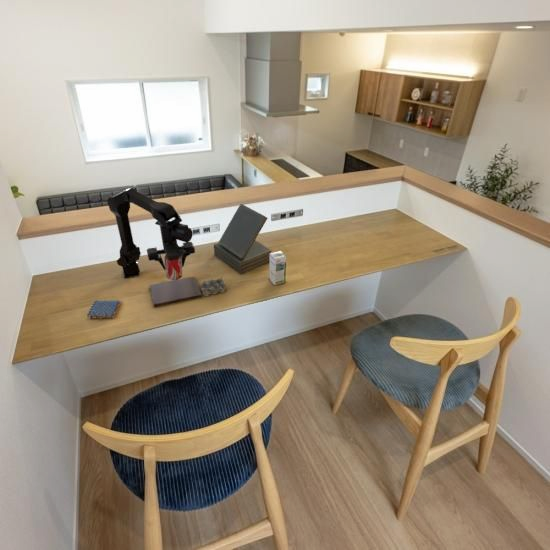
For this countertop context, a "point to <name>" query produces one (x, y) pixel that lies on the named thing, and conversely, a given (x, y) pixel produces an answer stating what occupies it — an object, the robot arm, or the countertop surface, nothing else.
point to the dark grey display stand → (243, 241)
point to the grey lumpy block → (212, 286)
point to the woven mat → (104, 309)
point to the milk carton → (277, 267)
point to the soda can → (173, 268)
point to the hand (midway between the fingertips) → (173, 267)
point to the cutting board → (174, 291)
